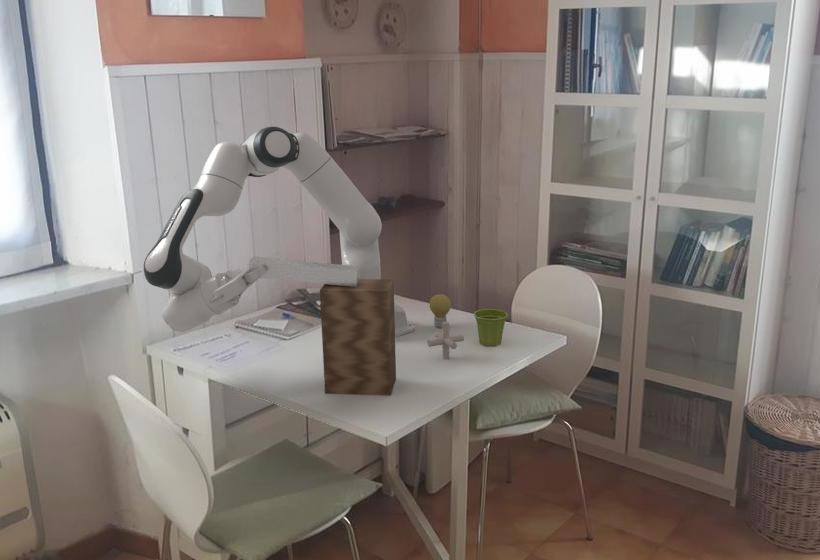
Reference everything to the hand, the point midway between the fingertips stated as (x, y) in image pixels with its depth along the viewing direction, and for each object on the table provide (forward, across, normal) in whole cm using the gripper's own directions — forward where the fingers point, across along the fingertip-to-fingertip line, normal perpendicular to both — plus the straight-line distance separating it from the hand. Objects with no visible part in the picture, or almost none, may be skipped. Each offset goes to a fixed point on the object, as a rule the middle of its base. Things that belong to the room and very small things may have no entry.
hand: (268, 265), depth 185 cm
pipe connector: (+20, +20, +47) cm, 55 cm away
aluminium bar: (+6, 0, +7) cm, 9 cm away
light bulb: (+17, +46, +45) cm, 67 cm away
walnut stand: (+4, 0, +37) cm, 37 cm away
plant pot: (+31, +33, +53) cm, 69 cm away
